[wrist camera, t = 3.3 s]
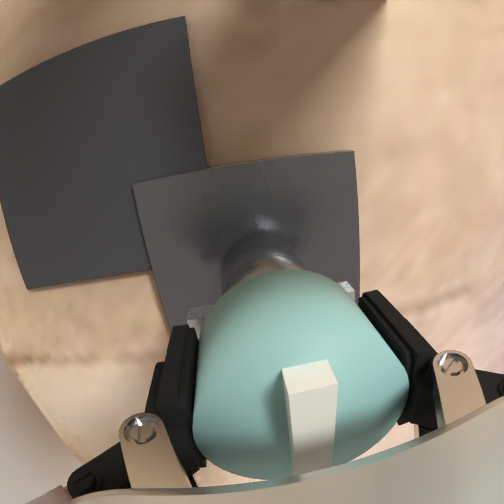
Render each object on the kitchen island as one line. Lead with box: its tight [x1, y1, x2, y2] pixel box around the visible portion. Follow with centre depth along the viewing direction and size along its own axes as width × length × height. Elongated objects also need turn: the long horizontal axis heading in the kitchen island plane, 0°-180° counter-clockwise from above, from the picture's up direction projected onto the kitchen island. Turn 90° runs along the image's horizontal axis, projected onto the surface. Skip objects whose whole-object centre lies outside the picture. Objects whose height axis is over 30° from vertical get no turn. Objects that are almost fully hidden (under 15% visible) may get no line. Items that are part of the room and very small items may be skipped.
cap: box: [192, 269, 409, 480], centre depth 9 cm, size 6×6×5 cm
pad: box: [0, 16, 207, 289], centre depth 15 cm, size 14×14×1 cm
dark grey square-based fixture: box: [132, 151, 360, 341], centre depth 15 cm, size 12×12×8 cm
